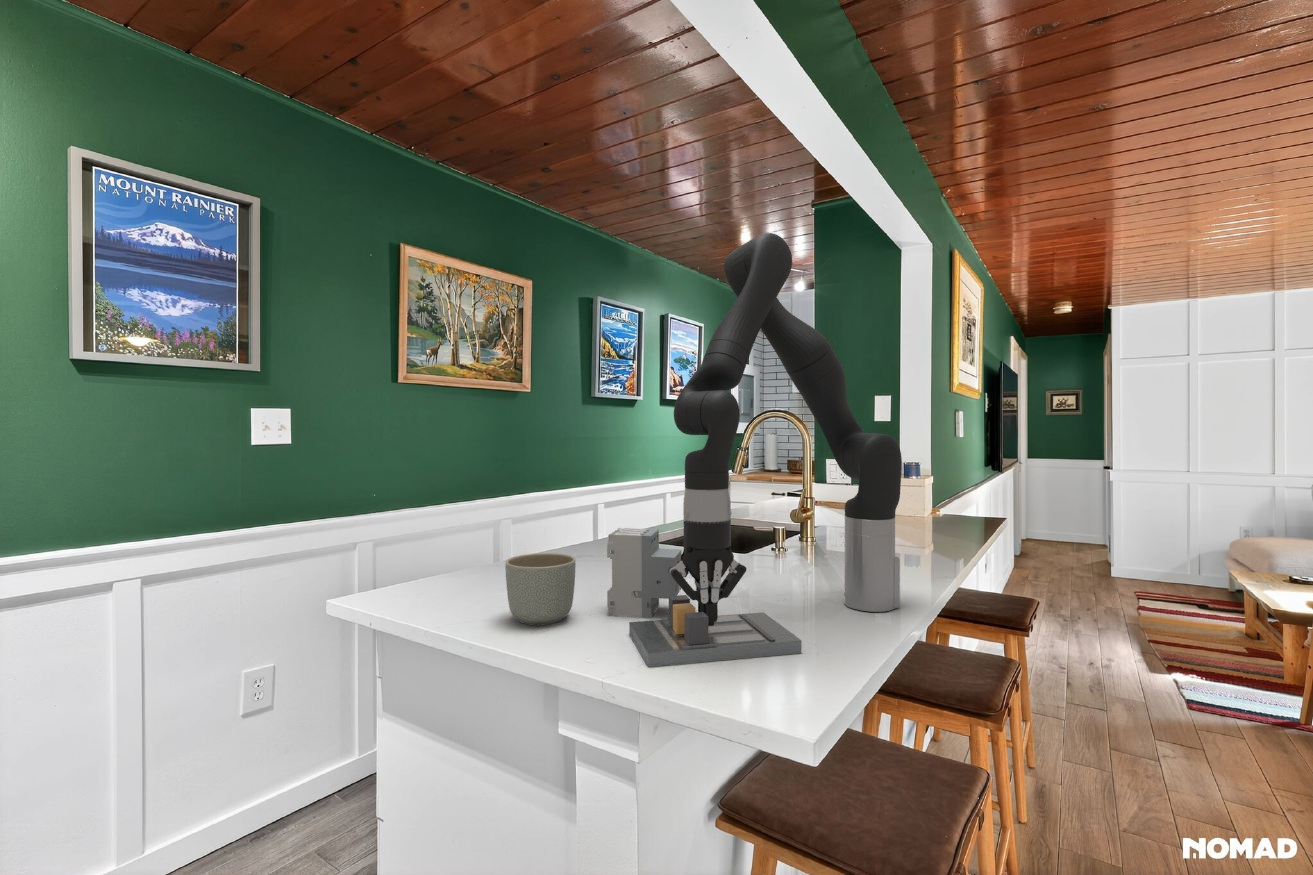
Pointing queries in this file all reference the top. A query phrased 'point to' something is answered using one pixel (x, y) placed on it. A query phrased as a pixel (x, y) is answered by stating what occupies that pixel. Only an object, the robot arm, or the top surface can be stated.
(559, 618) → the planter
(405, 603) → the top surface
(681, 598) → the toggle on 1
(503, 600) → the top surface
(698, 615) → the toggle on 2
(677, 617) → the toggle
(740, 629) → the grey base plate
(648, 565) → the circuit breaker
